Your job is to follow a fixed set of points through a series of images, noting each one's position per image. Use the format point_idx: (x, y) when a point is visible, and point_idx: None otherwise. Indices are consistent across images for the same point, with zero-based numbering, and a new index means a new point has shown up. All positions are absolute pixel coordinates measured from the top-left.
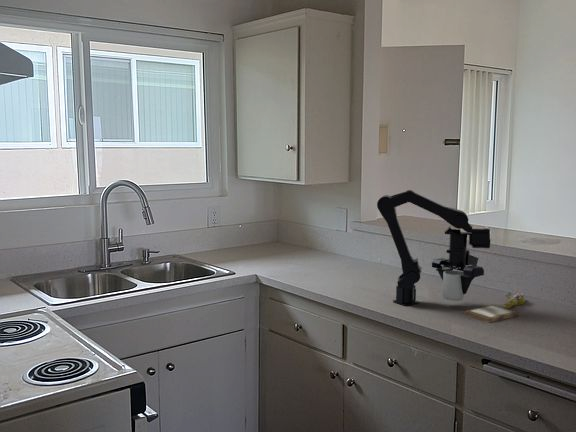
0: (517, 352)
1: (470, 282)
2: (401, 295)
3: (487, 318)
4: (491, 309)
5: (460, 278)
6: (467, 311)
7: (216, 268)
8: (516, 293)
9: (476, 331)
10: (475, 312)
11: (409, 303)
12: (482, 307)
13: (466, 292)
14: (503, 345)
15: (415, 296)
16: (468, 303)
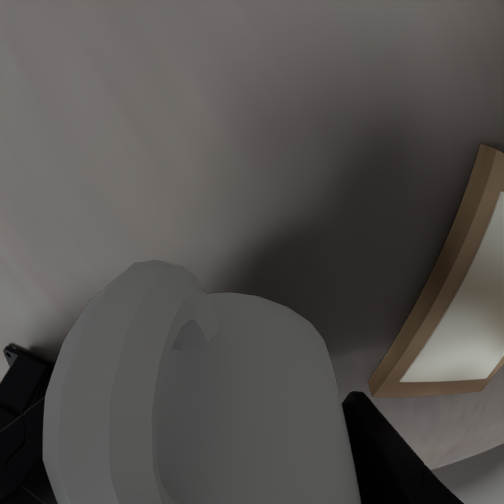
0: (499, 441)
1: (439, 491)
2: None
3: (475, 390)
4: (502, 277)
5: None
6: (388, 393)
7: None
8: None
9: (434, 445)
10: (429, 381)
11: None
12: (455, 272)
13: (369, 401)
14: (484, 443)
15: (41, 385)
16: (276, 128)
